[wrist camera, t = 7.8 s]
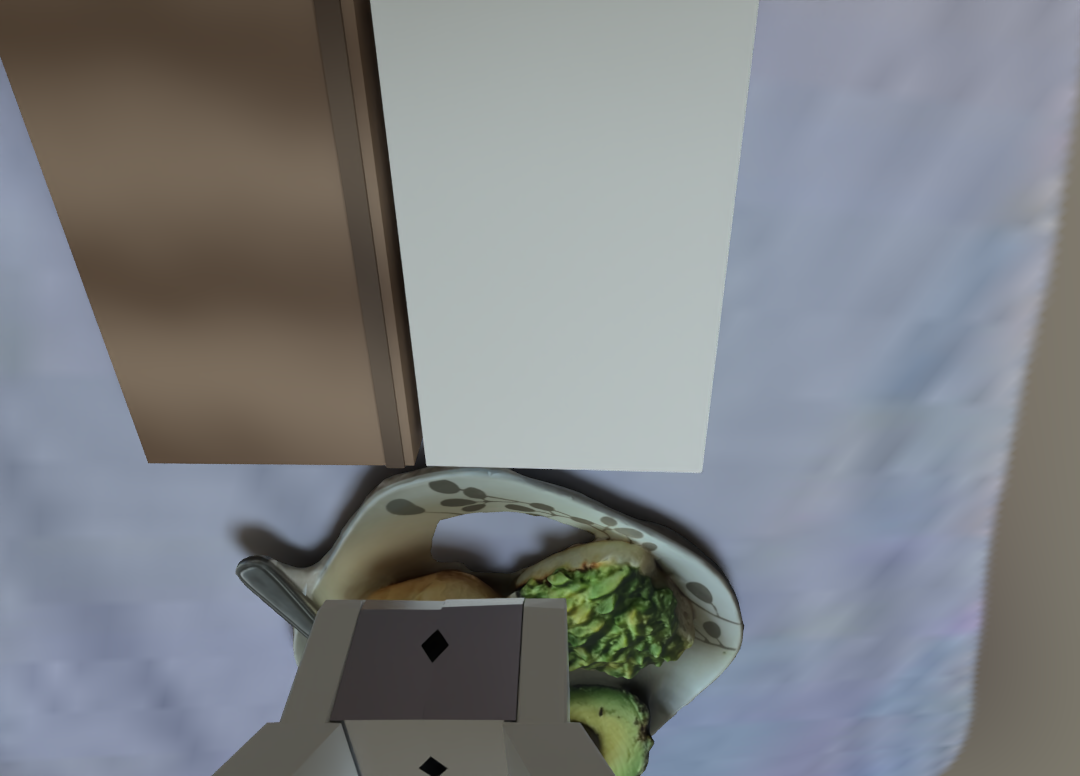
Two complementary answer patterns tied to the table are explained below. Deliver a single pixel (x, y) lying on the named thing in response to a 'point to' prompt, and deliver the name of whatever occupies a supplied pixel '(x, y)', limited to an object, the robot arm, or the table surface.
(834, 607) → the table surface
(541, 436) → the grey plank
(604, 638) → the salad plate
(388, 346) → the walnut board
